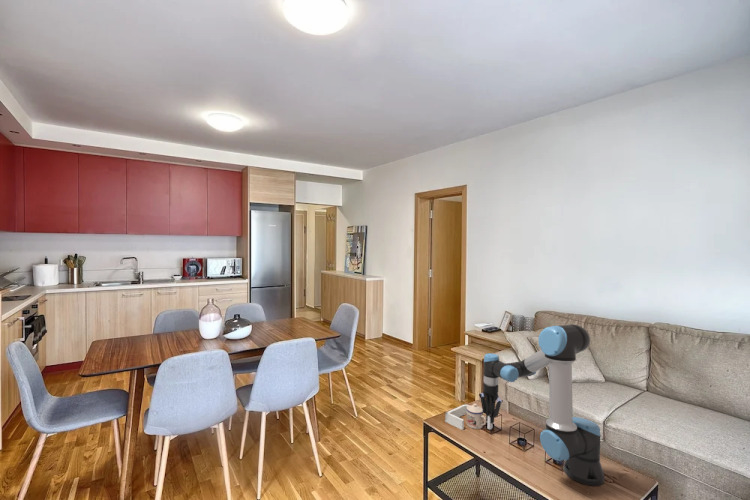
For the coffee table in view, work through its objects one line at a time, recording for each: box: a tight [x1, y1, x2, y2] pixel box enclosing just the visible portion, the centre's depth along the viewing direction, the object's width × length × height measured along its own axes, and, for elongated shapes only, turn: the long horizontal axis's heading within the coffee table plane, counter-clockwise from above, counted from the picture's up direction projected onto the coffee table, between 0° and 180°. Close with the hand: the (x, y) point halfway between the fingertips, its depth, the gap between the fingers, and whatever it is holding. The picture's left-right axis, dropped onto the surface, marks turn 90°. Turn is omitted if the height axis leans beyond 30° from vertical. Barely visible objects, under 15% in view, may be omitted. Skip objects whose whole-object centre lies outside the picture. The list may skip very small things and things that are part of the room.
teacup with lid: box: [466, 403, 487, 430], centre depth 194 cm, size 12×9×12 cm
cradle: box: [444, 403, 470, 431], centre depth 201 cm, size 12×19×5 cm, turn 130°
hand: (489, 428), depth 188 cm, fingers closed
